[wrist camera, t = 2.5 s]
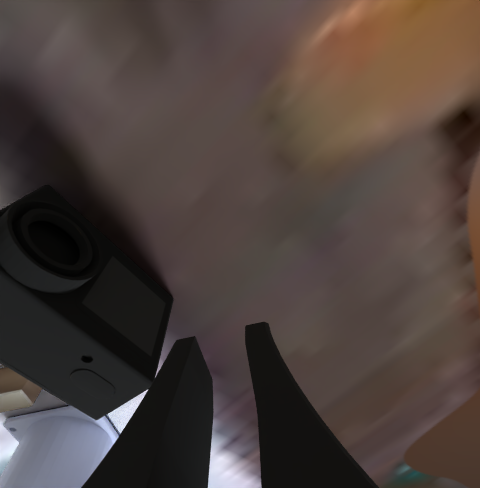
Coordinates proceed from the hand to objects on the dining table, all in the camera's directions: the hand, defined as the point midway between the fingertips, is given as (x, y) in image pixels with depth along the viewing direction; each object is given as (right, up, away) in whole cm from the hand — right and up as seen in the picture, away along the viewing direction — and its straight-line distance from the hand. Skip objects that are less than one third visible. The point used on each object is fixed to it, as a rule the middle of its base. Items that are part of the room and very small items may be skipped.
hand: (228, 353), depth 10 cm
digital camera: (-8, +3, +10) cm, 13 cm away
